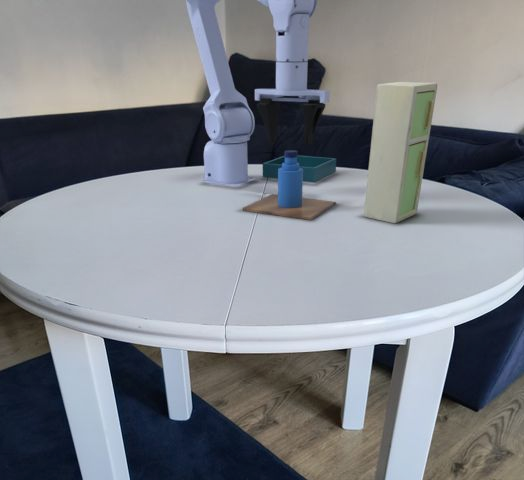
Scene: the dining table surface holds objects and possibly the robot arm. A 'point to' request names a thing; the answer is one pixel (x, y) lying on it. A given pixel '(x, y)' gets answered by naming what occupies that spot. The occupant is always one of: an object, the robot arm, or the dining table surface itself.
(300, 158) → the teal square tray
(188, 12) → the robot arm
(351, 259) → the dining table surface
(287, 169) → the water bottle
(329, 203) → the brown wooden board
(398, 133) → the toy refrigerator
